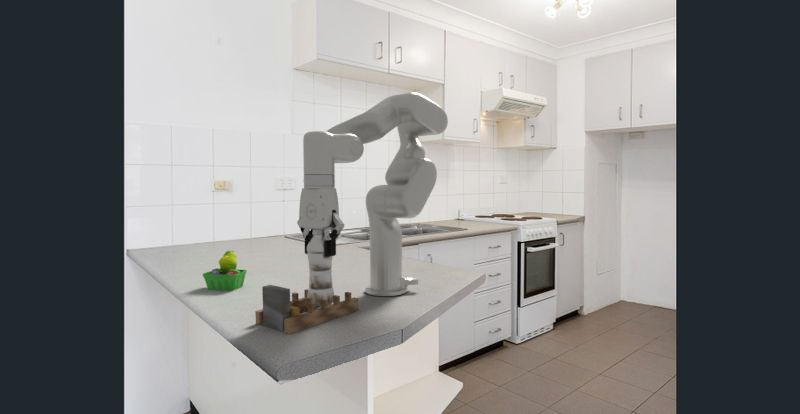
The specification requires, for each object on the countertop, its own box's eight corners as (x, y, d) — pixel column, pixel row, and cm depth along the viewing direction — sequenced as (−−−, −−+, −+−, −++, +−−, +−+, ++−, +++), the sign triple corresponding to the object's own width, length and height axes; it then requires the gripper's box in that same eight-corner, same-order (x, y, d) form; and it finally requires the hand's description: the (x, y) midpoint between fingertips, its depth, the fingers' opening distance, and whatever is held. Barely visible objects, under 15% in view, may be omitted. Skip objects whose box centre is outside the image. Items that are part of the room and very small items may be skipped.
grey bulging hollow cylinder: (329, 310, 106) (328, 228, 105) (302, 309, 107) (302, 227, 106) (338, 303, 112) (337, 225, 111) (313, 302, 113) (312, 225, 112)
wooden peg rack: (325, 302, 119) (325, 269, 118) (358, 309, 112) (358, 274, 111) (255, 323, 101) (254, 285, 101) (289, 334, 94) (288, 292, 94)
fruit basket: (201, 290, 134) (200, 253, 133) (218, 283, 143) (217, 249, 142) (235, 291, 132) (234, 254, 131) (250, 284, 141) (249, 250, 140)
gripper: (284, 182, 110) (285, 253, 111) (333, 182, 100) (333, 260, 101) (307, 182, 116) (308, 249, 117) (355, 182, 106) (356, 256, 106)
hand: (320, 254), depth 109 cm, fingers closed on grey bulging hollow cylinder, 6 cm apart
